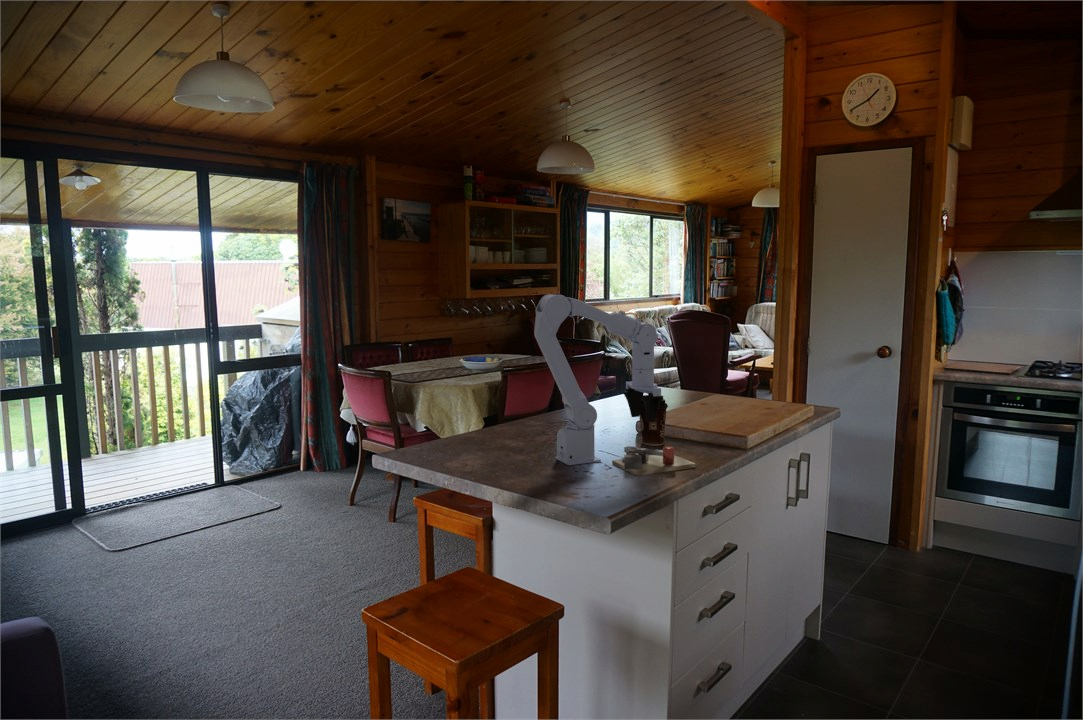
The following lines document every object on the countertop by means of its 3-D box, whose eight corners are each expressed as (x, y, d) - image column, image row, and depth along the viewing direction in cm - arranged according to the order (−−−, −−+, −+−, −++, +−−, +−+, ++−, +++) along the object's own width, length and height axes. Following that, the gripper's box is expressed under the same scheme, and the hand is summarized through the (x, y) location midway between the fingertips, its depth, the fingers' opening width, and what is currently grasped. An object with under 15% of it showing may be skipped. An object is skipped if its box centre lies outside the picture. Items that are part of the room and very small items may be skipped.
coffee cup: (632, 444, 200) (633, 399, 199) (642, 438, 208) (643, 395, 206) (662, 447, 196) (662, 402, 195) (671, 441, 204) (671, 397, 202)
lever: (622, 460, 178) (622, 444, 177) (626, 458, 180) (626, 442, 180) (672, 466, 172) (672, 449, 171) (675, 463, 174) (675, 447, 174)
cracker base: (631, 476, 168) (631, 459, 168) (607, 464, 179) (607, 448, 179) (695, 467, 176) (695, 451, 175) (668, 456, 187) (668, 441, 186)
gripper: (671, 370, 180) (670, 422, 182) (641, 364, 194) (641, 413, 195) (647, 372, 178) (647, 425, 179) (619, 366, 191) (619, 415, 192)
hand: (642, 419), depth 187 cm, fingers open, 7 cm apart
